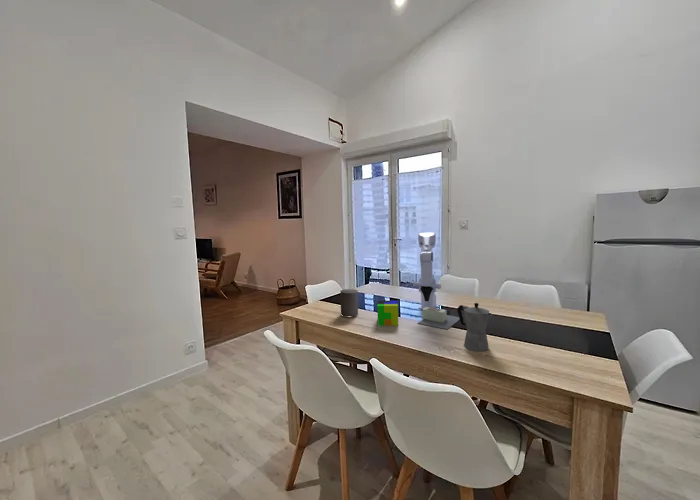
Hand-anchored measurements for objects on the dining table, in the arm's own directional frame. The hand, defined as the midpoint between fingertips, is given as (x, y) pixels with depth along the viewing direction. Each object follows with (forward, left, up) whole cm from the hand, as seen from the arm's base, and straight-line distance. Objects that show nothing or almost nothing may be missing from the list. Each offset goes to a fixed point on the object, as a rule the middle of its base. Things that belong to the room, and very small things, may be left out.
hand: (426, 300), depth 157 cm
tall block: (0, -2, -6) cm, 7 cm away
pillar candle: (+17, -38, -10) cm, 43 cm away
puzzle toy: (+16, -14, -10) cm, 23 cm away
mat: (0, +7, -9) cm, 12 cm away
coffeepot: (+22, +30, -10) cm, 38 cm away
